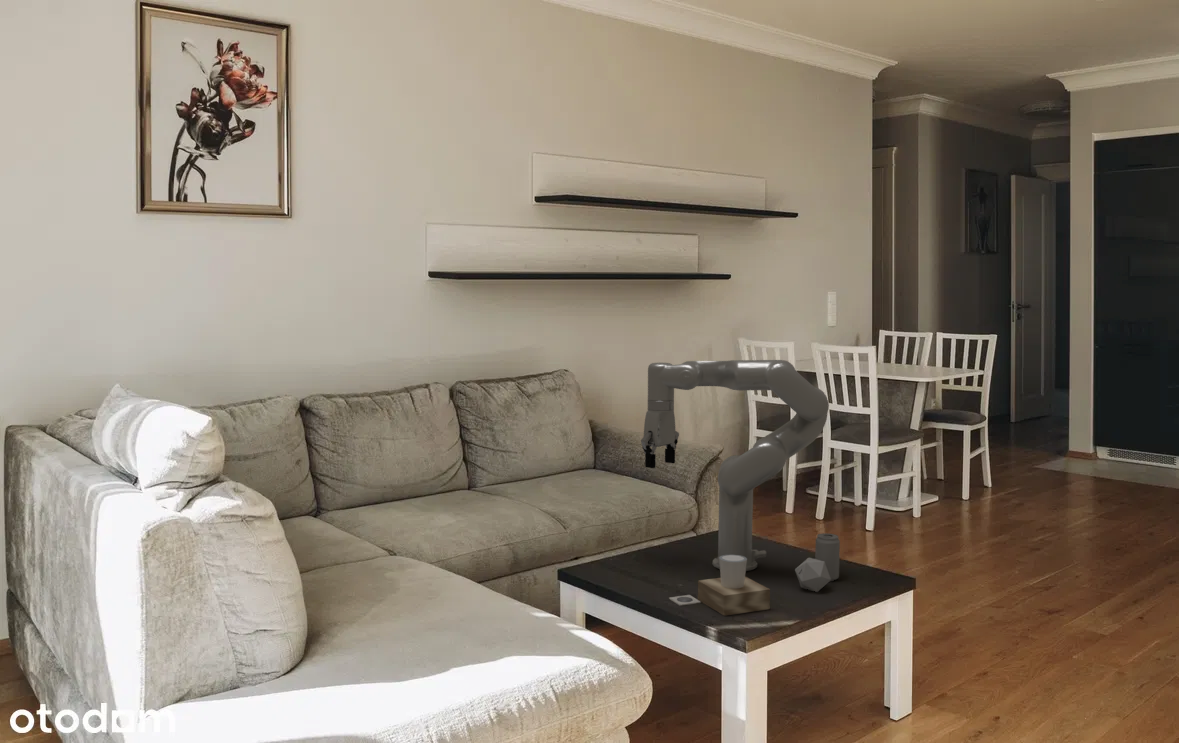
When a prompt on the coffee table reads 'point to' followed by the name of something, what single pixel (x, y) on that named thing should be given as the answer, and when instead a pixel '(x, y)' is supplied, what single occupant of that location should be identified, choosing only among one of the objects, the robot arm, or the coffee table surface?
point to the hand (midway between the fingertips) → (660, 465)
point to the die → (812, 574)
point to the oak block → (733, 596)
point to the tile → (684, 600)
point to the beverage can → (828, 553)
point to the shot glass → (732, 571)
